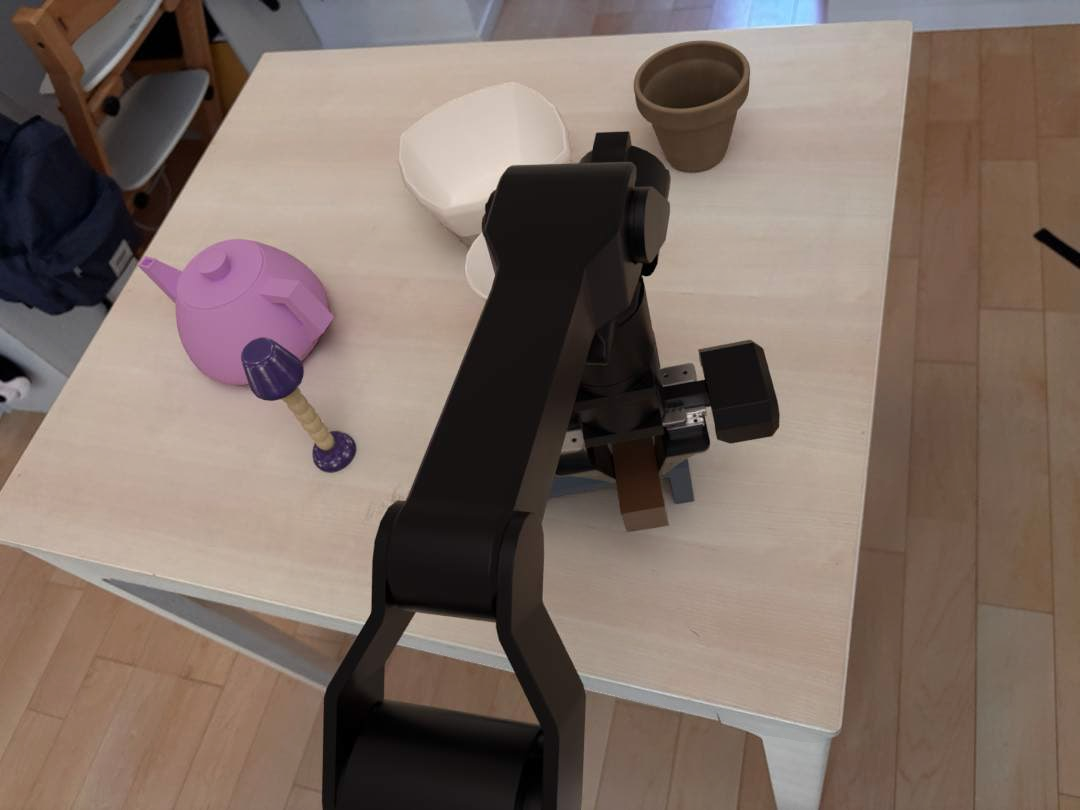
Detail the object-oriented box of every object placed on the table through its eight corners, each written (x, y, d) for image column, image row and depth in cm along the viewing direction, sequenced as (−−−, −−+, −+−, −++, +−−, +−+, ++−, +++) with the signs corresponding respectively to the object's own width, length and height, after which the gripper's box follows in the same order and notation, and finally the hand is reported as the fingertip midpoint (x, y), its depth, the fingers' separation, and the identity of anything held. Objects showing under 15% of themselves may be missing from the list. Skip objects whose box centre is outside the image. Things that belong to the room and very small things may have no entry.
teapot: (385, 295, 93) (339, 215, 83) (314, 415, 86) (256, 343, 76) (227, 265, 101) (169, 188, 91) (151, 372, 94) (79, 302, 84)
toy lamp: (353, 424, 84) (274, 318, 71) (368, 459, 82) (289, 356, 68) (309, 447, 84) (220, 345, 70) (323, 483, 81) (233, 385, 68)
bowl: (459, 295, 90) (430, 232, 83) (406, 197, 101) (376, 133, 93) (609, 221, 92) (595, 152, 84) (542, 131, 102) (523, 63, 94)
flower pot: (709, 102, 98) (703, 22, 90) (773, 151, 92) (774, 71, 84) (624, 151, 97) (611, 75, 89) (684, 205, 90) (675, 128, 82)
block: (669, 525, 60) (664, 507, 58) (626, 532, 61) (620, 514, 58) (652, 428, 65) (647, 407, 62) (612, 435, 65) (606, 415, 63)
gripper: (740, 209, 52) (746, 358, 65) (444, 272, 55) (506, 403, 68) (783, 357, 46) (780, 489, 59) (447, 419, 49) (514, 532, 61)
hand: (638, 472), depth 62 cm, fingers closed on block, 3 cm apart
